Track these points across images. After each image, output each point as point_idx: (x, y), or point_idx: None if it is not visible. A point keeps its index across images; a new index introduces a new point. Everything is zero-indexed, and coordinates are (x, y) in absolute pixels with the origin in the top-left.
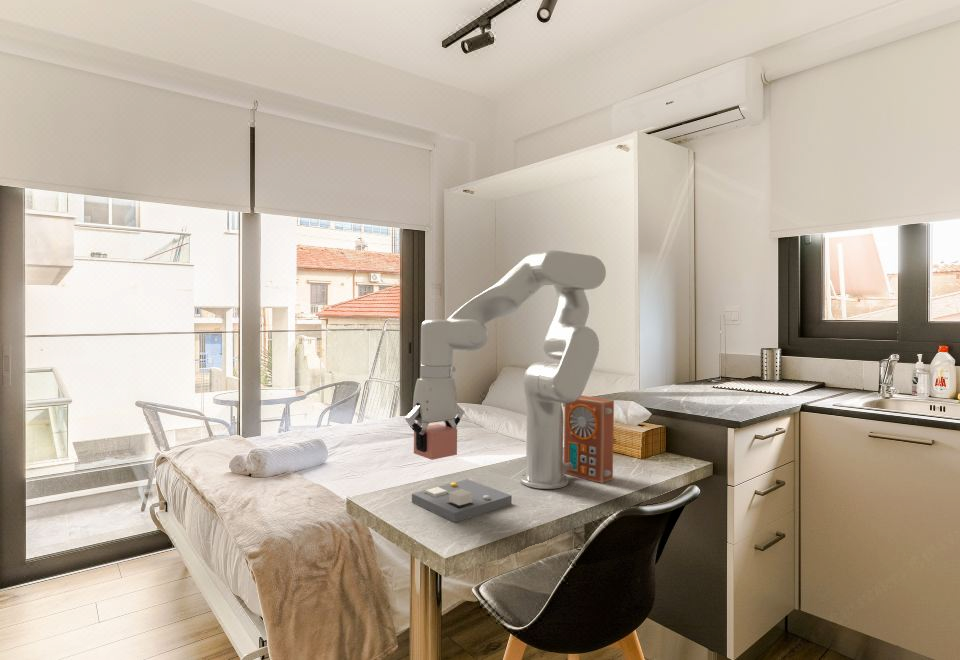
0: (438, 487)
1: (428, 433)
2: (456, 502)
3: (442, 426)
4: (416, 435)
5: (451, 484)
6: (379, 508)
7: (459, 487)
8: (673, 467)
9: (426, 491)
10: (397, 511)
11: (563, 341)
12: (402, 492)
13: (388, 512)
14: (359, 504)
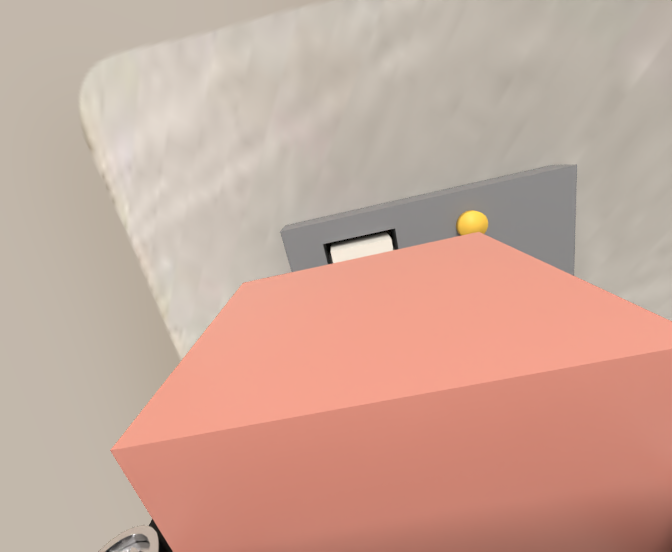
0: (390, 245)
1: None
2: None
3: (606, 524)
4: (153, 527)
5: (459, 229)
6: (166, 229)
7: None
8: None
9: (332, 257)
10: (217, 281)
11: None
12: (287, 95)
13: (189, 276)
14: (99, 155)
